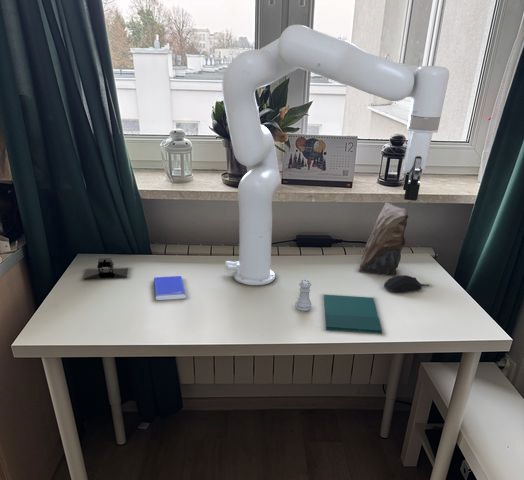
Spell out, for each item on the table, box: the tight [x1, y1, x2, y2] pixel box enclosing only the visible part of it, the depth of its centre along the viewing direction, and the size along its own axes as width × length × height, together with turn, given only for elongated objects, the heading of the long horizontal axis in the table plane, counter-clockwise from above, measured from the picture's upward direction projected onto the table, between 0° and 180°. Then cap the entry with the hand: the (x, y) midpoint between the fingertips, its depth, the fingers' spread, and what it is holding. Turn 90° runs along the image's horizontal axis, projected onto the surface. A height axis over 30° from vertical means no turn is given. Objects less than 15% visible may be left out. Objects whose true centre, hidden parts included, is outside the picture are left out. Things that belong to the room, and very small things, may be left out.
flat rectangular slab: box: [323, 294, 383, 334], centre depth 137 cm, size 14×20×1 cm
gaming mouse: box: [383, 274, 430, 294], centre depth 151 cm, size 6×15×4 cm, turn 106°
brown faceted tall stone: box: [358, 201, 409, 277], centre depth 159 cm, size 13×13×20 cm
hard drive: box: [153, 275, 187, 301], centre depth 145 cm, size 2×8×12 cm
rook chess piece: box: [295, 278, 313, 312], centre depth 136 cm, size 4×4×8 cm
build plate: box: [83, 257, 129, 280], centre depth 152 cm, size 12×7×5 cm, turn 100°
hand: (409, 194), depth 132 cm, fingers open, 9 cm apart
